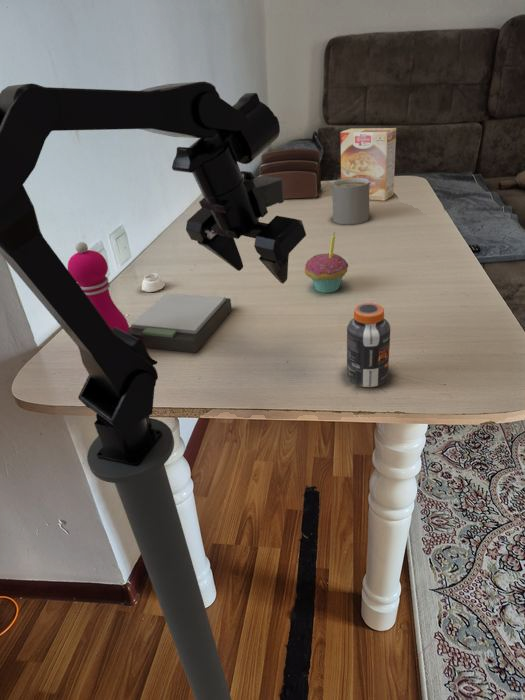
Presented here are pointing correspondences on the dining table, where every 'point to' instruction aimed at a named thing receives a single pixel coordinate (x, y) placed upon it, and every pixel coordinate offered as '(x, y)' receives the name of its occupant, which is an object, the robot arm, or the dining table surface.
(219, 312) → the scale
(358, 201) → the coffee mug
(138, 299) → the dining table surface
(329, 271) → the cupcake
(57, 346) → the dining table surface
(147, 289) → the white jar
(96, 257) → the pepper mill
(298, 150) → the letter holder
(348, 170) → the coffeecake box
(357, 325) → the pill bottle
